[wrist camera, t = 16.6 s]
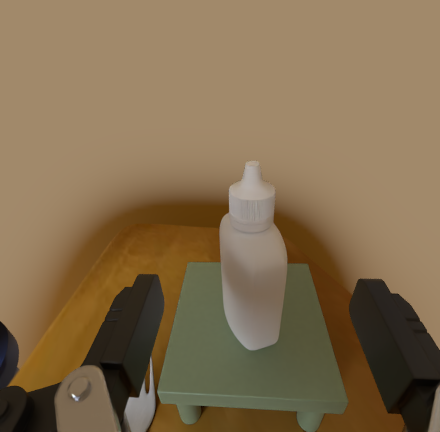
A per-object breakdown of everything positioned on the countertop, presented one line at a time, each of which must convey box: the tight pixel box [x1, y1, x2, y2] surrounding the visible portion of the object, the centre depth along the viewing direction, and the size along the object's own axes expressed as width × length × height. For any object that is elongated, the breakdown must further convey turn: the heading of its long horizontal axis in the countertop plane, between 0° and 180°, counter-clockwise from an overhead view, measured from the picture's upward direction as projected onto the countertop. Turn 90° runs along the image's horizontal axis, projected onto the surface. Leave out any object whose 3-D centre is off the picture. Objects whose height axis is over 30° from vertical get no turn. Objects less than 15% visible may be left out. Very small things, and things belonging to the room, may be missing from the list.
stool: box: [157, 262, 348, 432], centre depth 21 cm, size 11×11×6 cm
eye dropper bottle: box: [220, 161, 287, 350], centre depth 16 cm, size 4×6×12 cm
